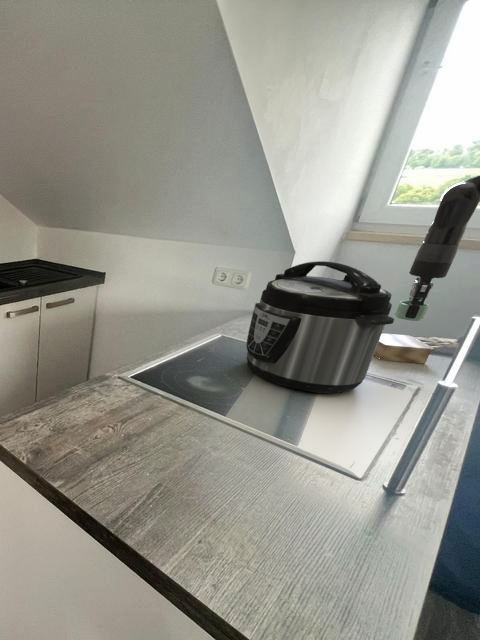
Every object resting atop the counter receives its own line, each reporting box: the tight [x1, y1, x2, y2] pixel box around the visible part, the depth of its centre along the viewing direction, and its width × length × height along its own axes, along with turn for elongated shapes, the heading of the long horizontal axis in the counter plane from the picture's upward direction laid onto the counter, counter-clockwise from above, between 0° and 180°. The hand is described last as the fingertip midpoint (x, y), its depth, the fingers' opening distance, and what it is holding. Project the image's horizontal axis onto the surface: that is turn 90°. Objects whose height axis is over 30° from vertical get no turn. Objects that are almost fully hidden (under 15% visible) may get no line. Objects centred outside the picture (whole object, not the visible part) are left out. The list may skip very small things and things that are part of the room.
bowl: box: [394, 300, 431, 322], centre depth 117 cm, size 6×6×4 cm
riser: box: [373, 332, 436, 364], centre depth 122 cm, size 12×12×5 cm
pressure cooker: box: [245, 260, 395, 394], centre depth 105 cm, size 30×28×32 cm
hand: (409, 315), depth 117 cm, fingers closed on bowl, 6 cm apart
